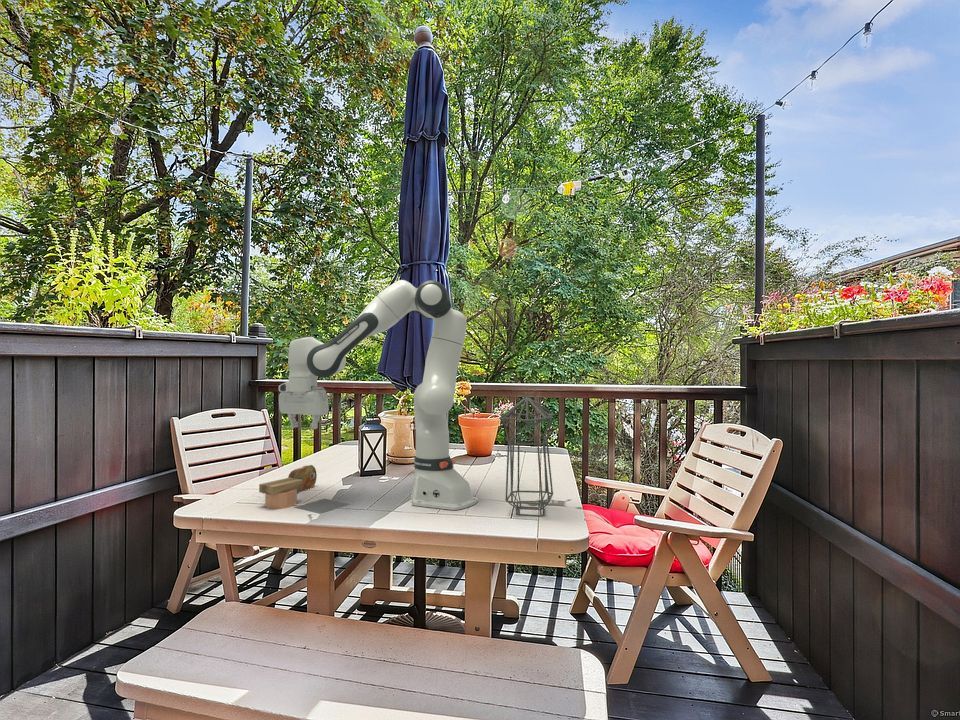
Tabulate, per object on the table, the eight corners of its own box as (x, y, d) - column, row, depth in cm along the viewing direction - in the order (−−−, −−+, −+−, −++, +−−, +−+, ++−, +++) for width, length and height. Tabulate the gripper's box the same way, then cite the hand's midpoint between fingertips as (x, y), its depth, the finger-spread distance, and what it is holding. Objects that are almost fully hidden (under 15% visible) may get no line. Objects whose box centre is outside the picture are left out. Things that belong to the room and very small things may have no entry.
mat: (350, 505, 156) (350, 504, 156) (320, 515, 146) (320, 513, 146) (324, 500, 163) (324, 498, 163) (293, 509, 153) (293, 507, 153)
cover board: (302, 487, 159) (302, 479, 159) (272, 495, 149) (272, 487, 149) (289, 485, 162) (289, 477, 162) (259, 492, 153) (259, 484, 153)
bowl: (302, 504, 157) (302, 488, 157) (277, 511, 150) (277, 495, 150) (284, 500, 162) (284, 485, 162) (259, 507, 154) (259, 491, 154)
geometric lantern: (553, 522, 142) (551, 399, 142) (499, 519, 145) (496, 399, 145) (557, 506, 157) (555, 395, 157) (508, 503, 160) (506, 395, 160)
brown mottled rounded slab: (294, 496, 167) (294, 471, 167) (285, 496, 168) (285, 471, 168) (317, 486, 182) (317, 463, 182) (309, 485, 182) (309, 462, 182)
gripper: (332, 385, 160) (333, 428, 160) (290, 385, 171) (291, 425, 171) (317, 386, 155) (318, 431, 155) (275, 386, 165) (275, 427, 165)
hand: (304, 428), depth 163 cm, fingers open, 8 cm apart
